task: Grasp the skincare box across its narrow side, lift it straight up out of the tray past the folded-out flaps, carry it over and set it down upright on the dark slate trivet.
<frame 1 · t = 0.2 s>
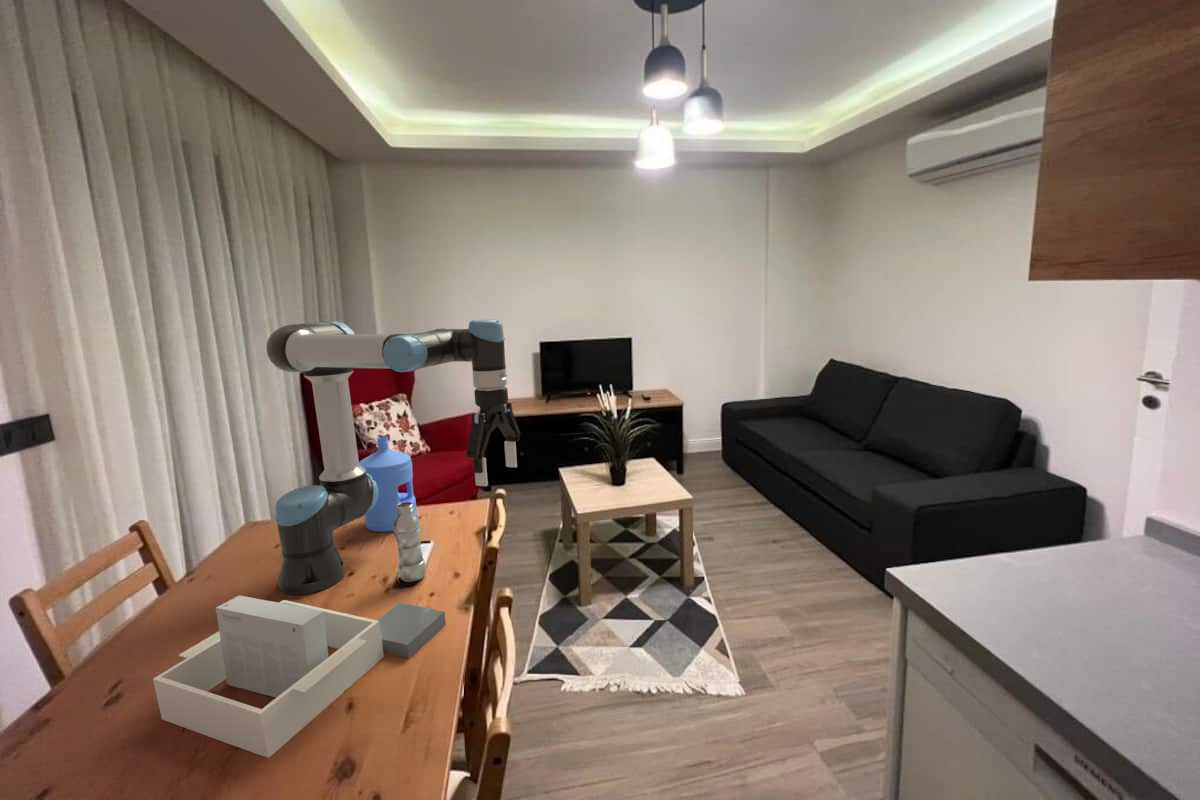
hand: (497, 475, 131), 28 cm above the table, fingers open, 13 cm apart
skincare box: (280, 687, 104), resting in tray
tray: (280, 686, 103), on the table
trivet: (404, 635, 118), on the table
plastic bottle: (413, 579, 141), on the table
water jug: (392, 523, 176), on the table
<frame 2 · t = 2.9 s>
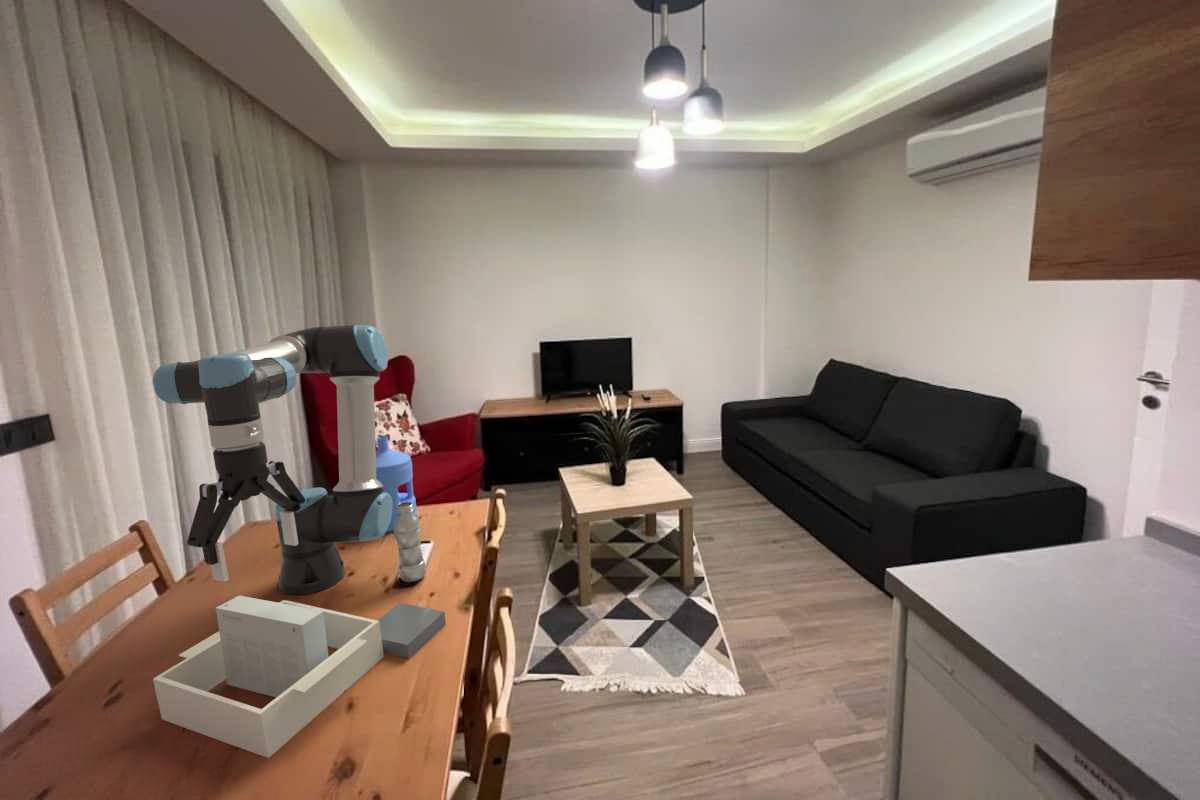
hand: (258, 560, 98), 25 cm above the table, fingers open, 13 cm apart
nothing on the table moved.
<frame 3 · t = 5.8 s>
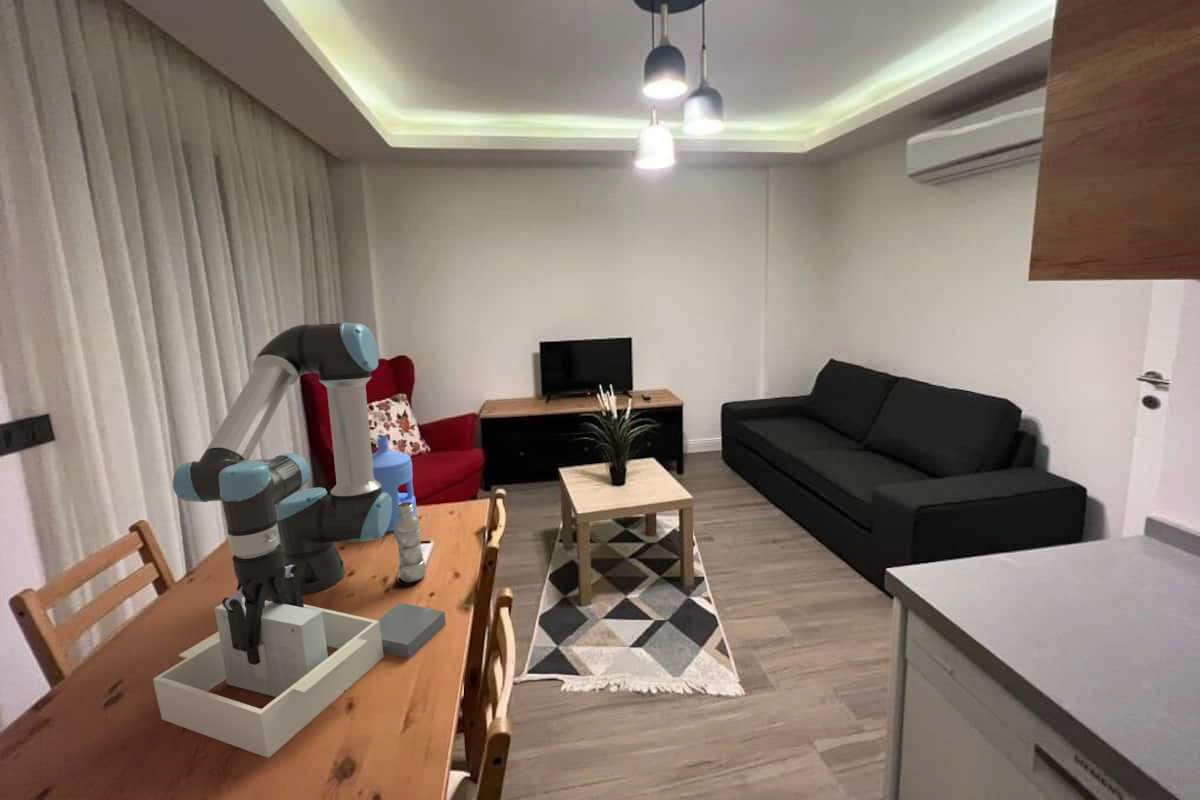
hand: (276, 665, 103), 4 cm above the table, fingers closed on skincare box, 5 cm apart
skincare box: (280, 686, 104), resting in tray, touching gripper
everything else where it was.
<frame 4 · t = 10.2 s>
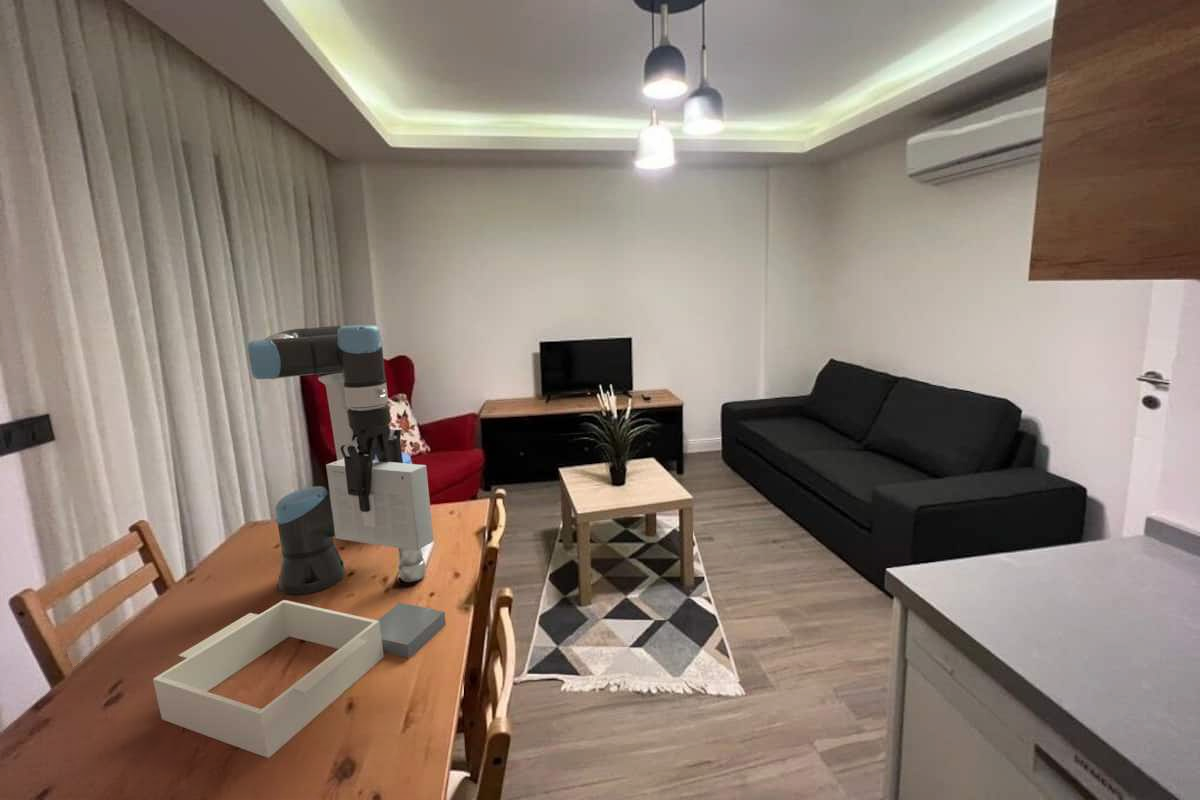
hand: (382, 519, 111), 27 cm above the table, fingers closed on skincare box, 5 cm apart
skincare box: (384, 540, 112), point 22 cm above the table, touching gripper
everything else where it was.
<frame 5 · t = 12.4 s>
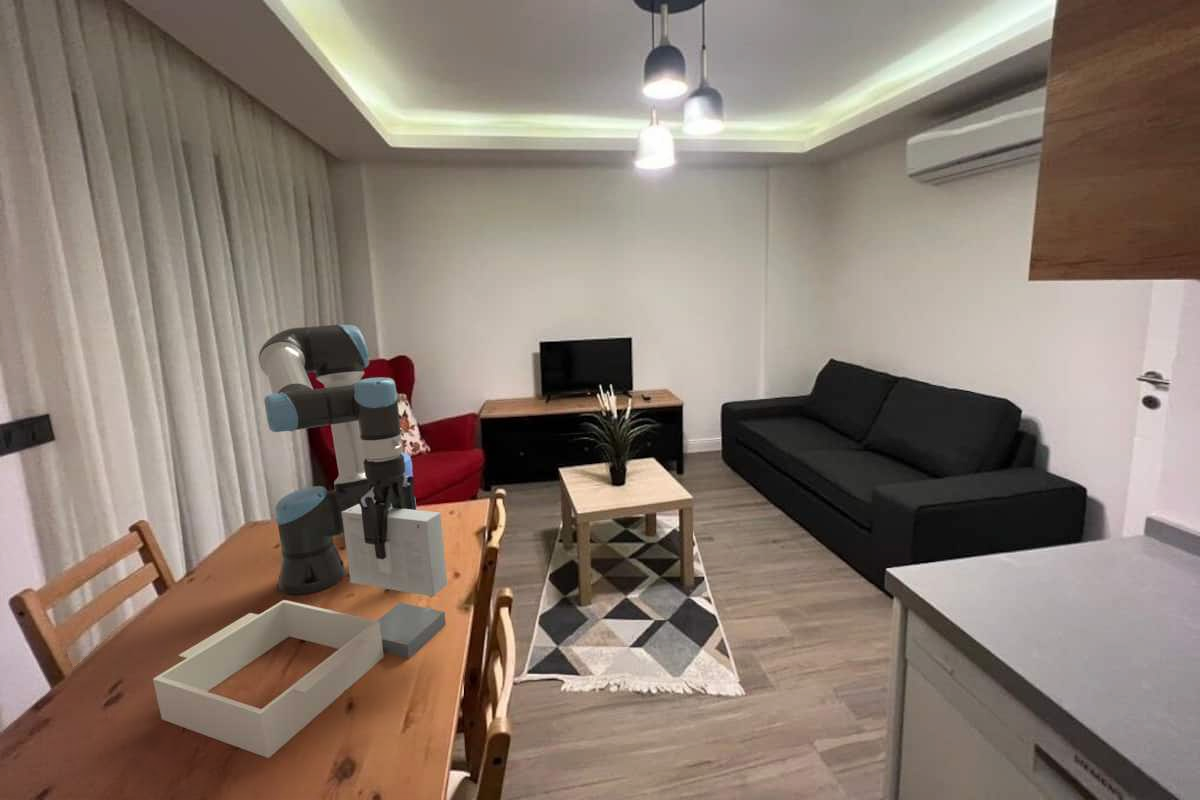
hand: (396, 564, 114), 16 cm above the table, fingers closed on skincare box, 5 cm apart
skincare box: (399, 584, 115), point 12 cm above the table, touching gripper
everything else where it was.
when the fingers open (9 cm above the table, at t = 14.6 s): skincare box drops 1 cm, resting on trivet.
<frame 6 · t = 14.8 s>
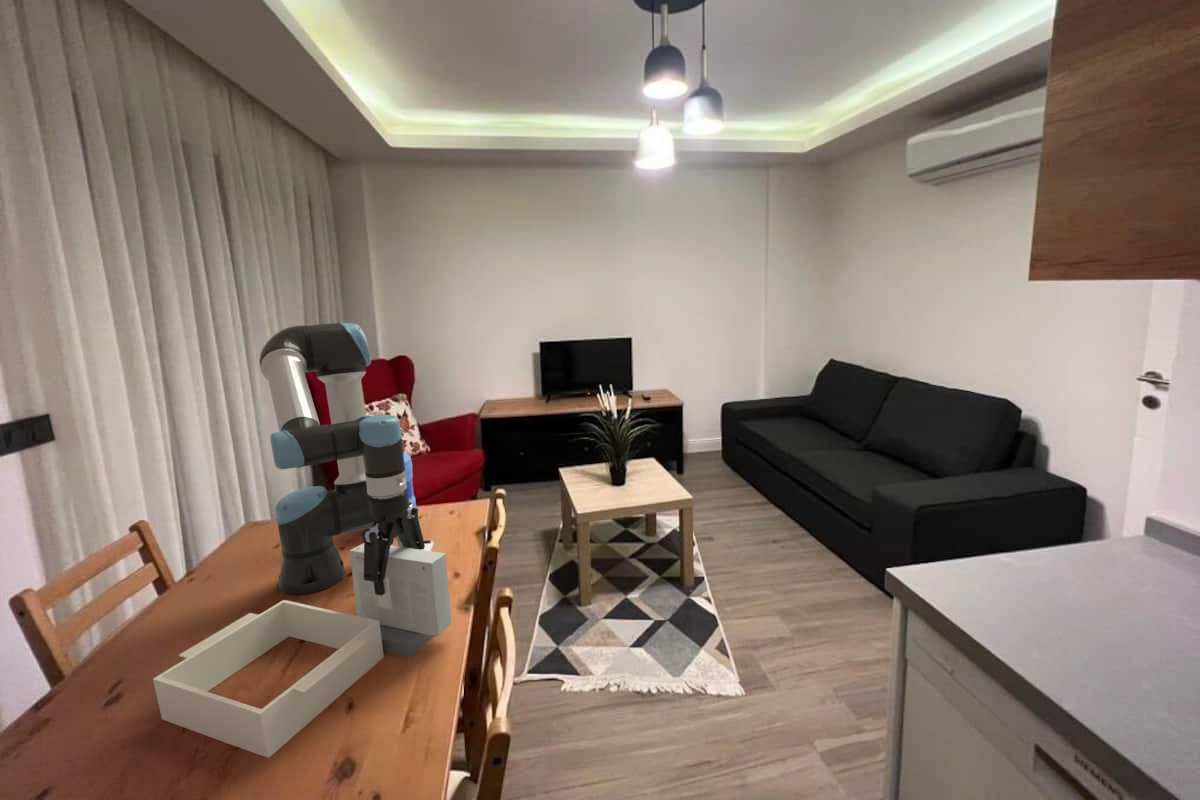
hand: (400, 595, 116), 9 cm above the table, fingers open, 8 cm apart
skincare box: (404, 622, 117), point 3 cm above the table, touching trivet
everything else where it was.
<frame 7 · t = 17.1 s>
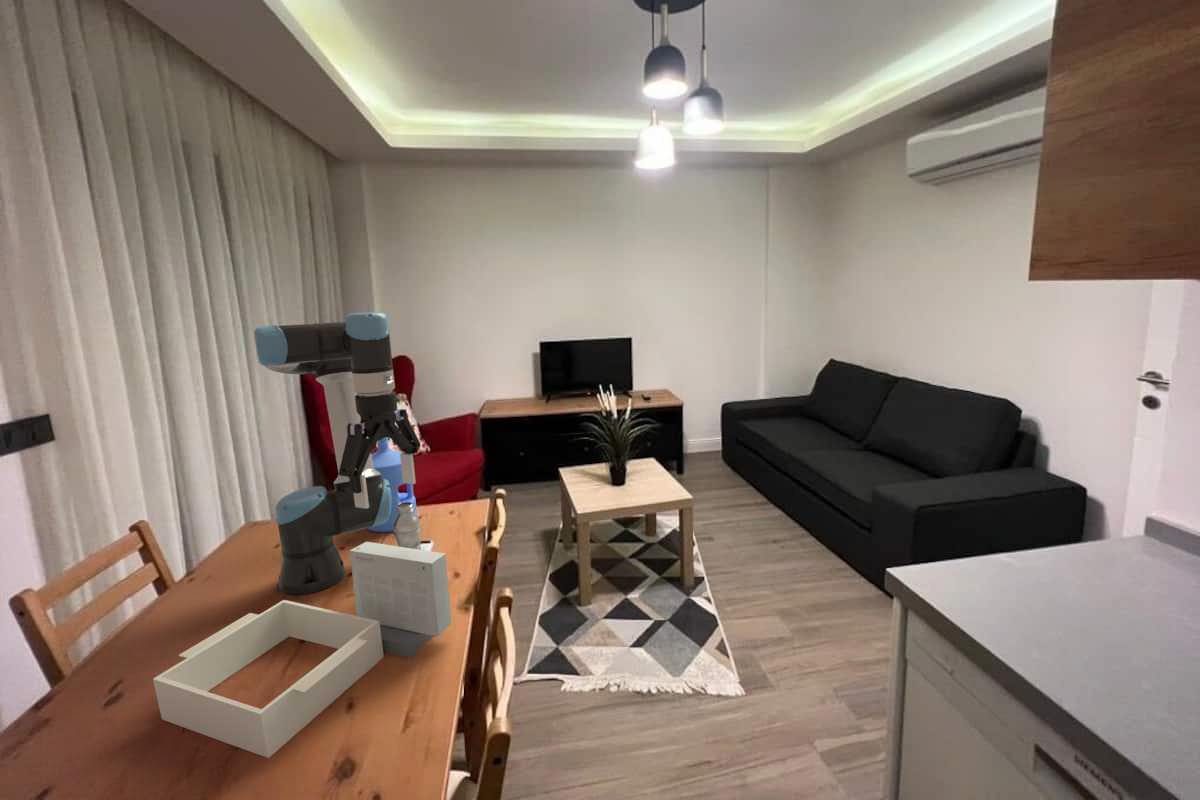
hand: (387, 494, 113), 31 cm above the table, fingers open, 13 cm apart
nothing on the table moved.
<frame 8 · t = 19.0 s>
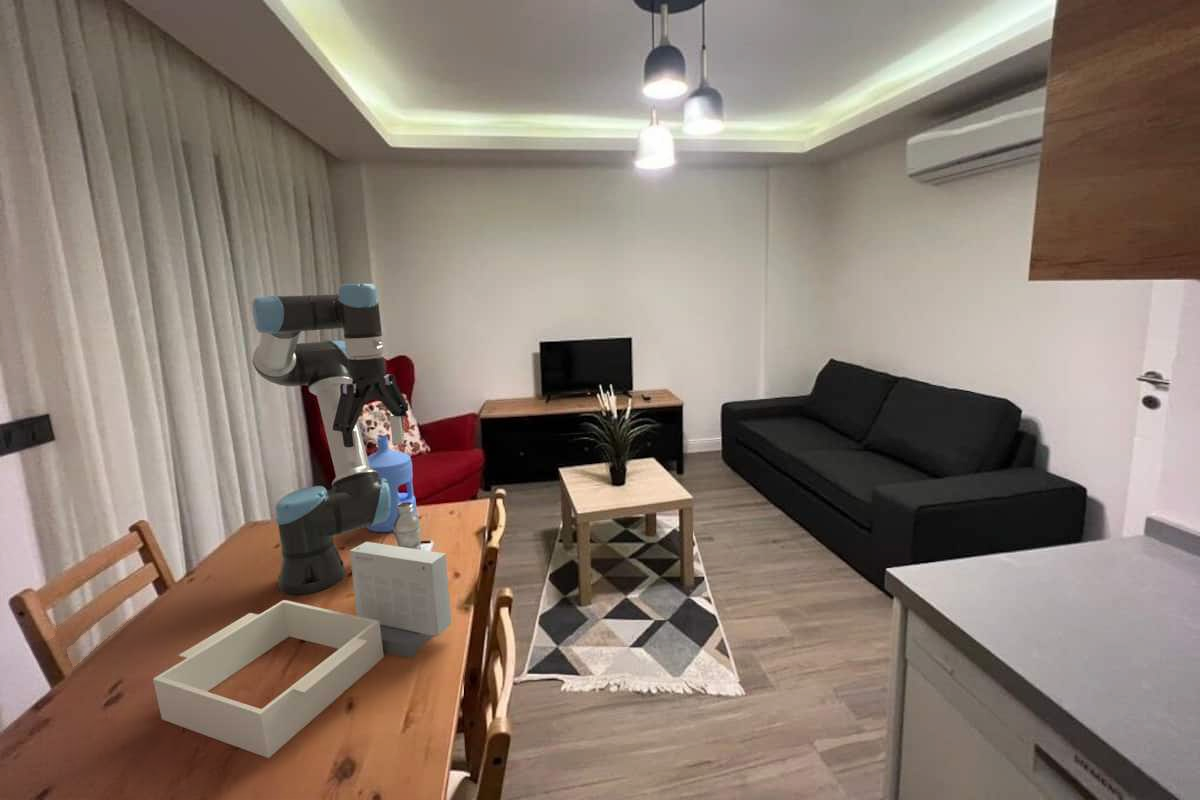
hand: (377, 452, 123), 37 cm above the table, fingers open, 13 cm apart
nothing on the table moved.
at the end: skincare box inside the target area on the trivet (0.4 cm from its centre), point 2.8 cm above the trivet's base; skincare box tilted 0°; the gripper is holding nothing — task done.
